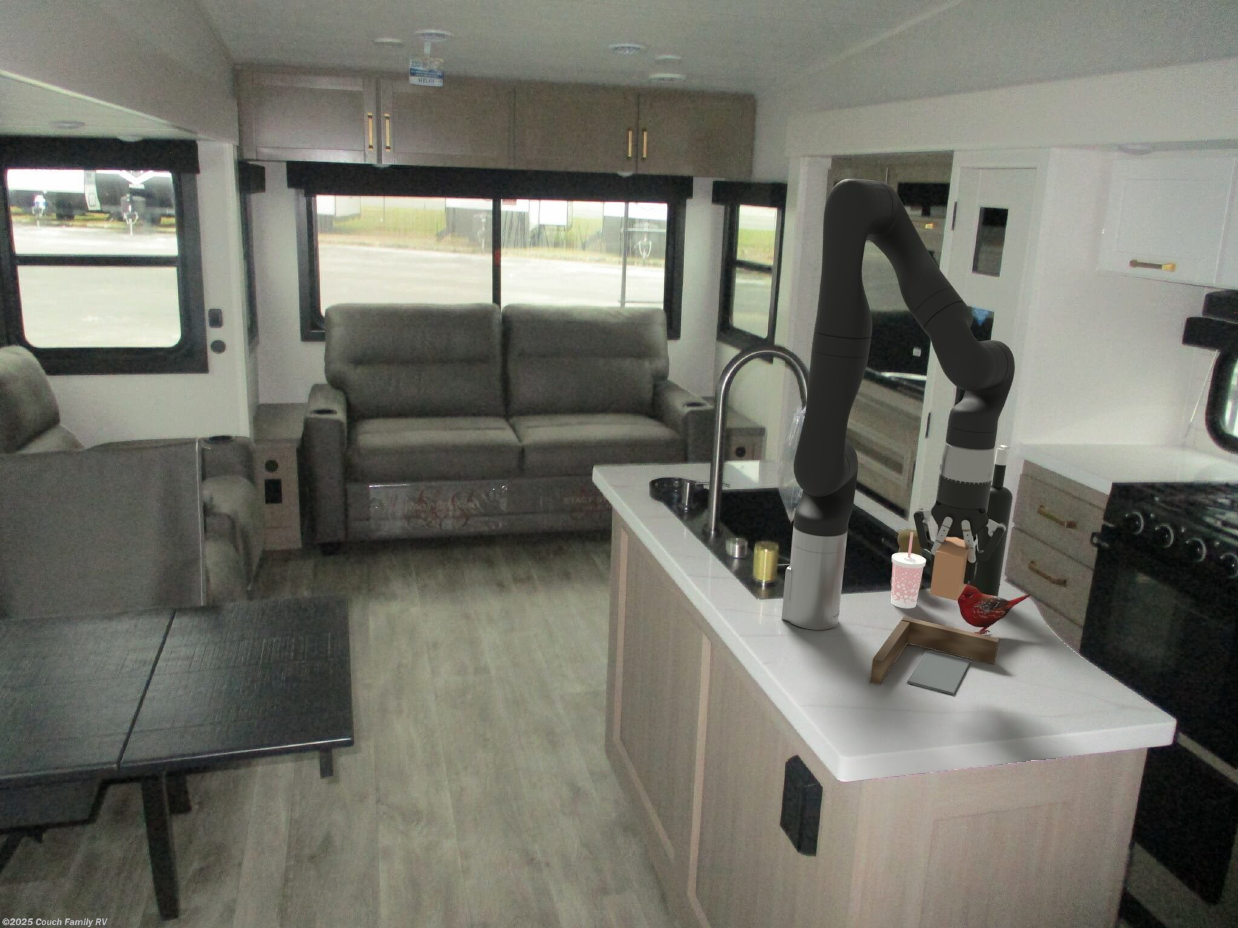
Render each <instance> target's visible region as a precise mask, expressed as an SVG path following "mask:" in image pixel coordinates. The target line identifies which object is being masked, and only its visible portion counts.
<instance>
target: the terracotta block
mask: <svg viewBox="0 0 1238 928" xmlns="http://www.w3.org/2000/svg"><path fill="white" fill-rule="evenodd" d="M967 554H968V550H967V549H966V548H965V542H964V540H961V539H959V538H957V537H947V539H946V541H945V542H944V543H943V545H942V544H941V545H940V547H939V548H938V549H937V550H936V552H935V560H934V567H933V574H932V576H931V583H930V592H929V595H930V596H932V597H933V596H934V597H938V598H942V599H948V600H951V601H957V602H958V598H959V597H960V595H961V593H962V592H963V590H964V589H965V587H966V585H967V584H964V576H965V569H966V562H967V561H968V557H967Z"/></svg>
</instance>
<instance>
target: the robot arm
mask: <svg viewBox="0 0 1238 928" xmlns="http://www.w3.org/2000/svg"><path fill="white" fill-rule="evenodd" d="M823 211H824V212H823V221H822V222H823V223H822V224H823V225H822V252H821V253H822V255H821V257H822V258H821V273H820V283H819V291H818V293H819V294H818V301H817V310H816V318H815V324H814V329H813V335H812V336H813V337H812V342H811V349H810V350H811V351H810V364H809V372H808V378H807V379H808V381H807V390H806V391H807V392H806V403H805V411H804V416H803V422H802V425H801V431H800V434H799V439H798V443H797V447H796V450H795V455H794V459H793V474H794V475H793V476H794V478H795V481H796V483H797V485H798V487H799V488H800V489H801V490H802V492H801V496H800V499H799V501H798V504H797V507H796V509H795V511H794V516H793V527H792V528H793V529H792V538H791V551H790V562H789V565H788V567H786V568H785V574H784V575H785V578H784V585H783V595H782V596H783V597H782V599H783V600H782V609H781V611H782V612H781V619H782V620H785V621H787V622H790V624H792V625H794V626H796V627H799V628H803V629H808V630H813V631H814V630H817V631H822V630H823V631H824V630H829V629H832V628H834V627H836V626H837V625H838V623H839V617H840V608H841V598H842V588H843V577H844V568H845V561H846V560H845V559H846V548H847V539H848V530H849V529H848V528H849V522H850V519H851V517H852V514H853V509H854V504H855V497H856V490H857V488H856V487H857V481H858V472H859V458H858V454H857V451H856V448H855V447H854V445H853V444H852V443H851V442H850V441H849V440H848V439H847V433H848V432H847V429H848V423H849V419H850V414H851V411H852V408H853V405H854V403H855V400H856V399H857V395H858V392H859V390H860V387H861V384H862V383H863V380H864V376H865V373H866V370H867V365H868V361H869V355H870V348H871V344H872V343H871V342H872V335H873V318H872V313H871V308H870V304H869V301H868V298H867V295H866V291H865V290H866V289H865V287H864V282H863V260H864V254H865V247H866V242H867V241H870V243H872V244H873V245H875V246H876V248H878V250H880V251H881V252H882V253H883V255H885V257H886V259H888V261H889V263H890V265H891V266H892V268H893V271H894V273H895V277H896V278H897V282H898V283H897V284H898V286H899V291H900V295H901V298H902V300H903V302H904V304H905V305H906V308H907V309H908V310H909V312H910V314H911V315H912V316H913V317H914V319H915V320H916V322H917V323H918V325H919V326H920V327H921V329H922V330H923V331H924V333H925V334H926V335H927V336H928V338H929V339H930V342H931V346H932V348H933V349H932V350H933V351H934V353H935V355H936V358H937V361H938V363H939V365H940V368H941V369H942V372H943V374H944V375H945V376H946V378H947V379H948V380H949V381H950V382H951V383H952V384H953V385H954V386H955V387H956V388H958V389H960V390H962V391H964V394H963V397H962V399H961V401H959V402H958V403H957V404H955V405H954V406H953V407H952V408H951V409H950V412H949V415H948V420H947V428H946V434H945V435H946V436H945V443H944V447H943V450H942V455H941V459H940V460H941V461H940V463H939V474H938V481H937V482H938V484H937V490H936V497H935V503H934V505H933V506H932V508H927V509H924V508H918V509H916V511H915V512H914V513H913V521H914V525H915V529H916V530H917V535H918V539H919V544H920V547H921V548H922V549H921V550H927V551H928V552H930V554H931V557H930V564H929V573H930V574H932V575H933V567H934V560H935V552H936V550H937V549H938V548H939V547H940V545H941V544H942V545H943V543H944V542H945V541H946V539H947V537H957V538H959V539H961V540H964V542H965V548H966V549H967V550H968V554H967V557H968V561H967V562H966V569H965V576H964V584H967V585H968V584H969V582H972V581H973V579H974V578H975V576H976V569H977V562H978V561H987V560H988V559H989V558H990V556H991V554H992V553H993V551H994V549H995V547H996V546H997V544H998V542H999V540H1000V539H1001V537H1002V535H1003V533H1004V532H1005V530H1006V528H1007V527H1006V525H1005V524H1004V523H1000V524H998V523H997V522H995V521H993V520H991V519H990V516H989V514H988V503H989V496H990V489H991V485H992V480H993V473H994V466H995V463H994V462H995V450H996V448H995V446H996V440H997V433H998V426H999V425H998V424H999V419H1000V416H1001V414H1002V412H1003V410H1004V408H1005V404H1006V401H1007V399H1008V397H1009V394H1010V390H1011V389H1012V385H1013V381H1014V377H1015V372H1016V371H1015V370H1016V365H1015V364H1016V362H1015V357H1014V354H1013V352H1012V350H1011V348H1010V347H1009V346H1008V345H1007V344H1005V343H1004V342H1003V341H1000V340H995V339H994V340H993V339H989V340H981V341H979V340H978V339H977V338H976V337H975V336H974V334H973V331H972V330H971V327H972V325H973V321H974V315H973V312H972V310H970V308H969V306H968V305H967V303H966V302H965V300H964V299H963V298H962V297H961V296H960V293H958V292H957V291H956V289H955V288H954V286H953V285H952V284H951V282H950V281H949V280H948V278H946V276H945V274H944V273H943V272H942V270H941V269H940V268H939V266H938V265H937V263H936V262H935V260H934V259H933V257H932V255H931V253H930V252H929V251H928V249H927V247H926V245H925V243H924V241H923V240H922V238H921V236H920V235H919V232H918V231H917V229H916V227H915V225H914V223H913V221H912V219H911V217H910V215H909V213H908V211H907V209H906V207H905V206H904V203H903V202H902V200H901V198H900V196H899V195H898V192H896V190H895V189H894V188H893V187H892V186H891V185H890V184H888V183H886V182H884V181H881V180H872V179H863V178H845V179H843V180H840V181H839V182H837V183H835V185H834V186H833V187H832V188H831V190H830V192H829V194H828V196H827V198H826V201H825V205H824V210H823ZM931 517H932V518H933V520H934V522H935V523H936V525H937V527H938V529H939V531H938V533H937V535H936V538H935V541H934V540H932V537H931V533H930V529H929V525H928V524H929V522H930V521H931ZM985 526H987V527H988V528H989V531H988V534H989V536H991V539H990V540H989V542H988V544H987V546H986V547H985V549H984V550H982V551H978V539H977V533H979V532H980V531H981V530H982V529H983V528H984V527H985Z"/></svg>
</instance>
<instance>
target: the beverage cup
mask: <svg viewBox="0 0 1238 928" xmlns="http://www.w3.org/2000/svg"><path fill="white" fill-rule="evenodd" d="M912 540H913V532H911V534H910V542H909V551H908V553H898V552H895V553H893V554H892V555H891V563H892V569H891V570H892V571H891V578H892V584H891V591H890V593H891V595H890V603H891V604H892V605H893V606H895V607H898V608H900V609H914V608H916V607H917V603H918V602H917V601H918V597H919V592H920V589H919V587H920V582H921V577H922V578H923V571H924V567H926V563H927V559H926V558H925V557H923V555H922V556H920V555H916V554H912V553H911V548H912Z"/></svg>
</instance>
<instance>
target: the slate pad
mask: <svg viewBox="0 0 1238 928" xmlns="http://www.w3.org/2000/svg"><path fill="white" fill-rule="evenodd" d="M970 664H971V660H970V659H968V658H964V657H963V658H962V657H960V656H959V657H958V656H956V655H955V656H954V655H952V654H951V655H950V654H948V653H944V652H940V651H938V652H937V651H936V650H932V649H926V650H925V652H924V654H923V655H922V657H921V658H920V660H919V662H917V665H916V666H915V668H914V670H913V671H912V672H911V675H910V676H909V678H908V679H907V684H910V685H914V686H917V687H922V688H924V689H927V690H928V689H929V690H933V691H936V692H940V693H944V694H947V695H952V696H954V695H955V693H956V691H957V689H958V687H959V685H960V684H961V681H962V679H963V677H964V675H965V673H966V671H967V669H968V667H969V665H970Z"/></svg>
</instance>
